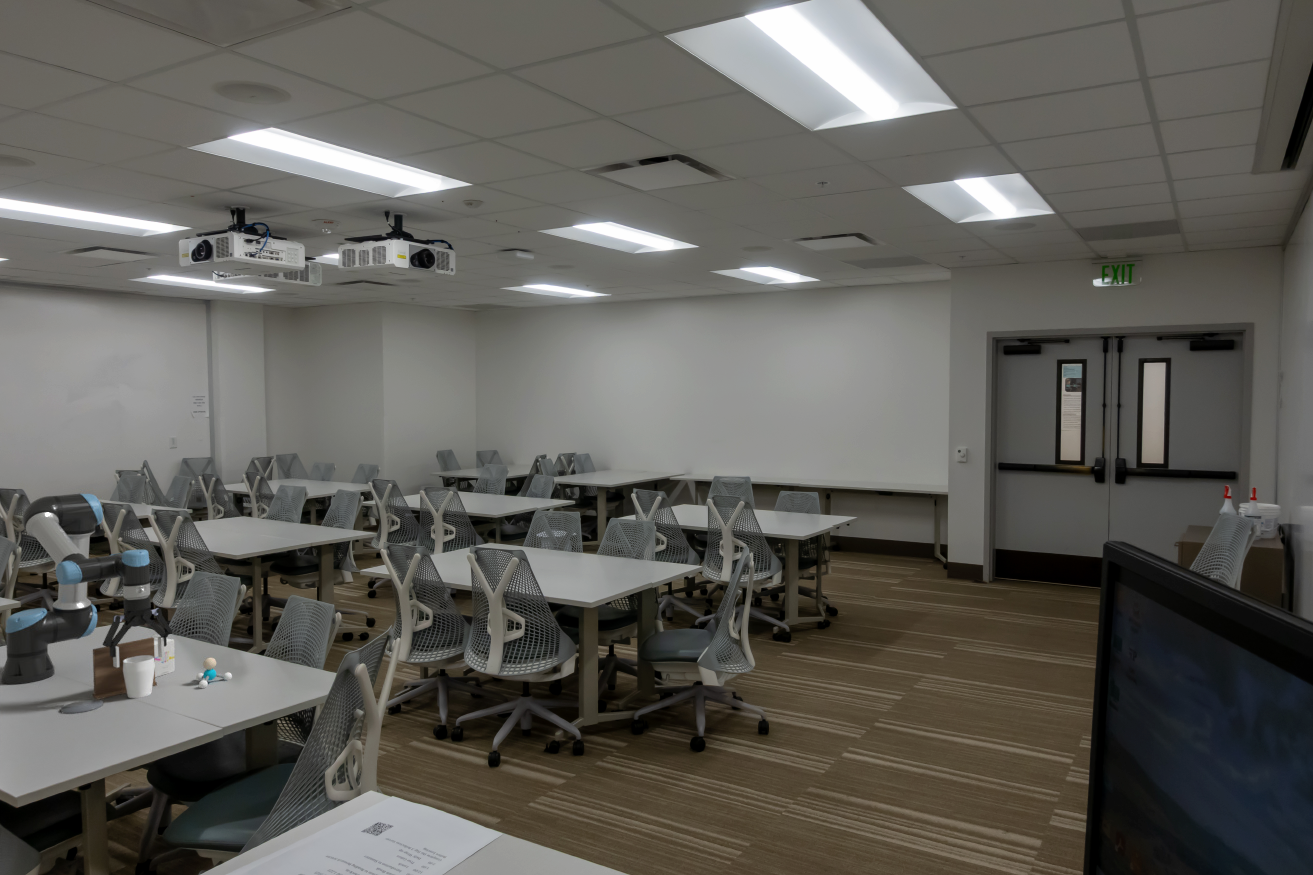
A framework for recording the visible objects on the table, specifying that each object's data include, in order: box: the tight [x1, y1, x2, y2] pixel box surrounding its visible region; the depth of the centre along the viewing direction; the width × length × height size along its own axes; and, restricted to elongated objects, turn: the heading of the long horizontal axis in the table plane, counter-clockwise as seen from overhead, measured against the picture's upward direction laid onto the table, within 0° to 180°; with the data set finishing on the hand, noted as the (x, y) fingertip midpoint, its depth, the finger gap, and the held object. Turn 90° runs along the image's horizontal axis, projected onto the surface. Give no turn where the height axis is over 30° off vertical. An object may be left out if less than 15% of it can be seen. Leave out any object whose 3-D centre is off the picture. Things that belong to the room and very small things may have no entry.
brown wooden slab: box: [92, 636, 158, 700], centre depth 287 cm, size 4×18×16 cm, turn 143°
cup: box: [123, 655, 155, 699], centre depth 283 cm, size 9×9×12 cm
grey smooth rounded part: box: [60, 699, 104, 715], centre depth 272 cm, size 11×11×1 cm
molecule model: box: [195, 657, 233, 689], centre depth 297 cm, size 12×12×9 cm
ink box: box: [149, 633, 176, 678], centre depth 307 cm, size 9×8×13 cm
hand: (139, 661), depth 283 cm, fingers open, 13 cm apart
